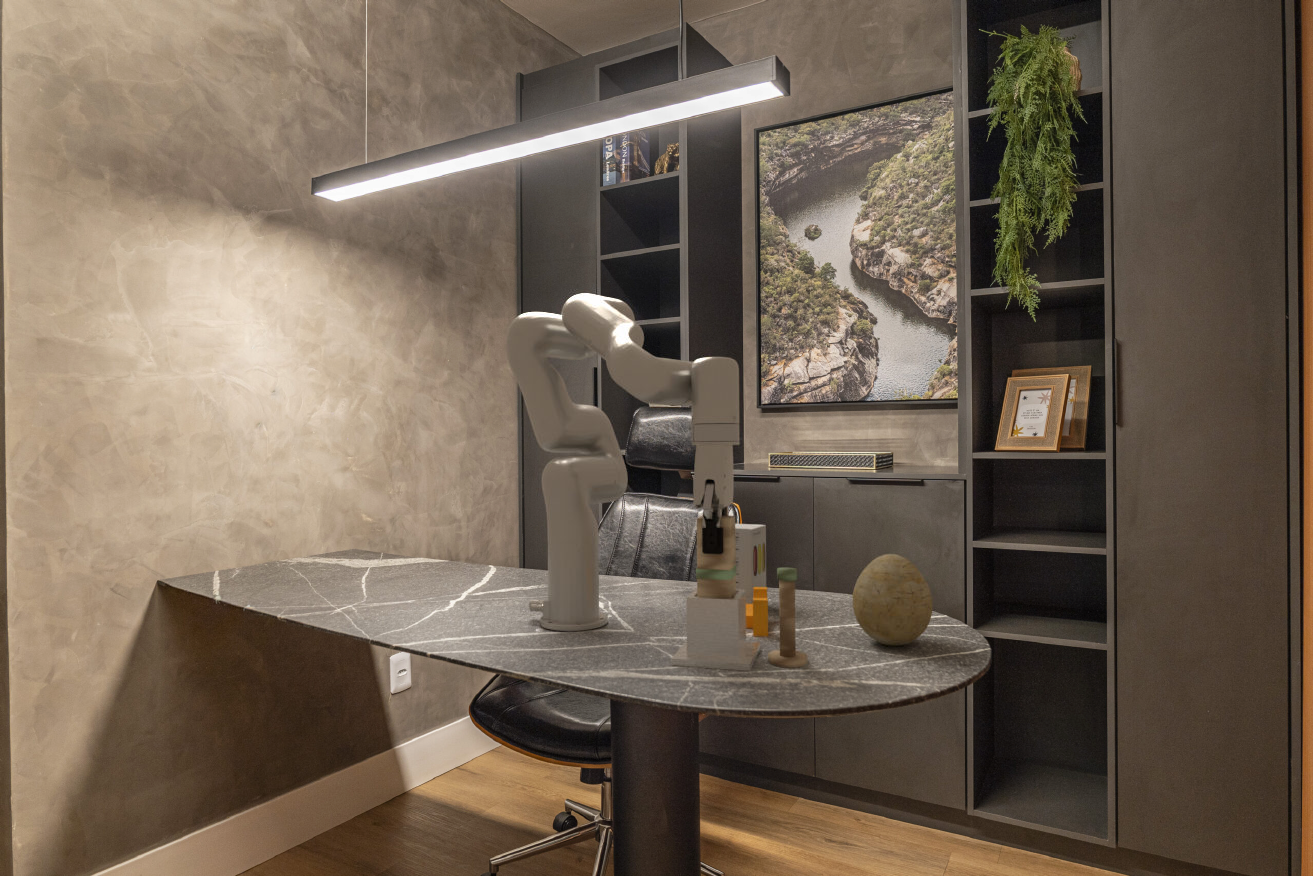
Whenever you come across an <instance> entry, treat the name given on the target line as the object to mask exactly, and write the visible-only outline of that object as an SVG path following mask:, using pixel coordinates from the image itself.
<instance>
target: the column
mask: <svg viewBox="0 0 1313 876" xmlns="http://www.w3.org/2000/svg"><path fill="white" fill-rule="evenodd" d="M716 516H717V515H716ZM702 522H703V515H701V516H698V517H697V518H696V568H695V579H696V581H697V582H696V588H697V597H714V598H734V597H735V595H736V574H737V565H736V564H735V524H736V515H729V516H722V519H721V528H723V553H722V554H704V553H703V552H702V528H703V526H702Z"/></svg>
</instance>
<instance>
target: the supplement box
mask: <svg viewBox="0 0 1313 876" xmlns="http://www.w3.org/2000/svg"><path fill="white" fill-rule="evenodd" d="M735 564H736V565H737V574H736V589H742V590H746V604H753V587H767V526H766V524H756V523H755V524H754V523H753V524H748V523H735Z"/></svg>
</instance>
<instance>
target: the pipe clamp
mask: <svg viewBox="0 0 1313 876" xmlns="http://www.w3.org/2000/svg"><path fill="white" fill-rule="evenodd" d="M746 629H752V637H767V638H768V637H769V599H768V586H766V587H753V604H746Z"/></svg>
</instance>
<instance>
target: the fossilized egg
mask: <svg viewBox="0 0 1313 876" xmlns="http://www.w3.org/2000/svg"><path fill="white" fill-rule="evenodd" d="M932 596H933V595H932V593H931V589H930V587H929V584H928V582H927V580H926V578H925V577H924V575H923V574H922V573H921V571H920V570H919V568H917V567H916V566H915V564H914V563H913V562H911V561H910V560H909V559H907V558H906V557H904V556H901V555H899V554H896V553H895V554H894V553H888V554H887V553H886V554H882V555H880V556H877V557H876V558H874V559H873V560H871V562H869V564H867V566H865V567H864V569H863V570H862V572H861V573H860V575H859V576H858V578H857V580H856V582H855V585H854V588H853V593H852V608H853V613H854V617H855V619H856V621H857V623H858V625H859V626H860V628H861V629H862V631H864V633H865V634H866V635H867V636H868V637H870V638H871V639H873V641H876V642H878V643H879V644H883V645H887V646H892V647H896V646H904V645H908V644H910V643H912V642H913V641H915V640H917V639H918V638H920V636H922V635H923V634H924V632H925V631H926V630H927V628H928V625H929V624H930V621H931V619H932V615H933V610H934V609H933V606H934V605H933V597H932Z"/></svg>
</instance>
